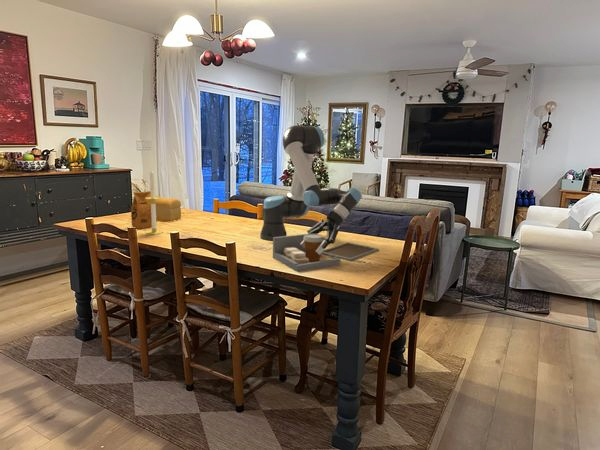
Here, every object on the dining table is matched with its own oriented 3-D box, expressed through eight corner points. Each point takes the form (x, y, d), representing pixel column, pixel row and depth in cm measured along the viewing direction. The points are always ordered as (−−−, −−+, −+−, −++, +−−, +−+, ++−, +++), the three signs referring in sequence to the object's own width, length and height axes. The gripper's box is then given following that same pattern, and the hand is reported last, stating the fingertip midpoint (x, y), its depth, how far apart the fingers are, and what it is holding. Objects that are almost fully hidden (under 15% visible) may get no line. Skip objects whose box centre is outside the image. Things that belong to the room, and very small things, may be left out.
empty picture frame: (379, 248, 218) (347, 260, 195) (378, 251, 218) (347, 263, 195) (348, 242, 230) (314, 252, 207) (347, 245, 230) (314, 255, 207)
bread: (181, 218, 286) (181, 197, 283) (170, 222, 274) (169, 199, 271) (151, 216, 293) (150, 194, 290) (139, 219, 281) (138, 197, 278)
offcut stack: (281, 259, 199) (281, 246, 197) (292, 257, 201) (292, 245, 200) (298, 269, 183) (298, 256, 182) (310, 268, 186) (310, 255, 184)
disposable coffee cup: (299, 258, 199) (300, 234, 197) (318, 257, 202) (319, 233, 200) (307, 264, 190) (307, 238, 188) (326, 262, 194) (327, 237, 191)
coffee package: (129, 226, 256) (127, 191, 252) (149, 224, 265) (147, 189, 261) (137, 229, 250) (135, 193, 245) (156, 226, 258) (155, 191, 254)
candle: (167, 231, 246) (164, 167, 238) (154, 235, 237) (151, 168, 229) (154, 229, 250) (152, 166, 243) (141, 232, 242) (138, 167, 234)
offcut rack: (272, 257, 199) (273, 237, 197) (313, 252, 210) (314, 233, 208) (296, 271, 180) (297, 248, 178) (340, 264, 191) (341, 243, 189)
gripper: (357, 225, 190) (329, 261, 185) (327, 216, 211) (300, 248, 206) (349, 214, 186) (319, 250, 182) (318, 206, 207) (291, 238, 203)
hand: (309, 249), depth 194 cm, fingers open, 13 cm apart
